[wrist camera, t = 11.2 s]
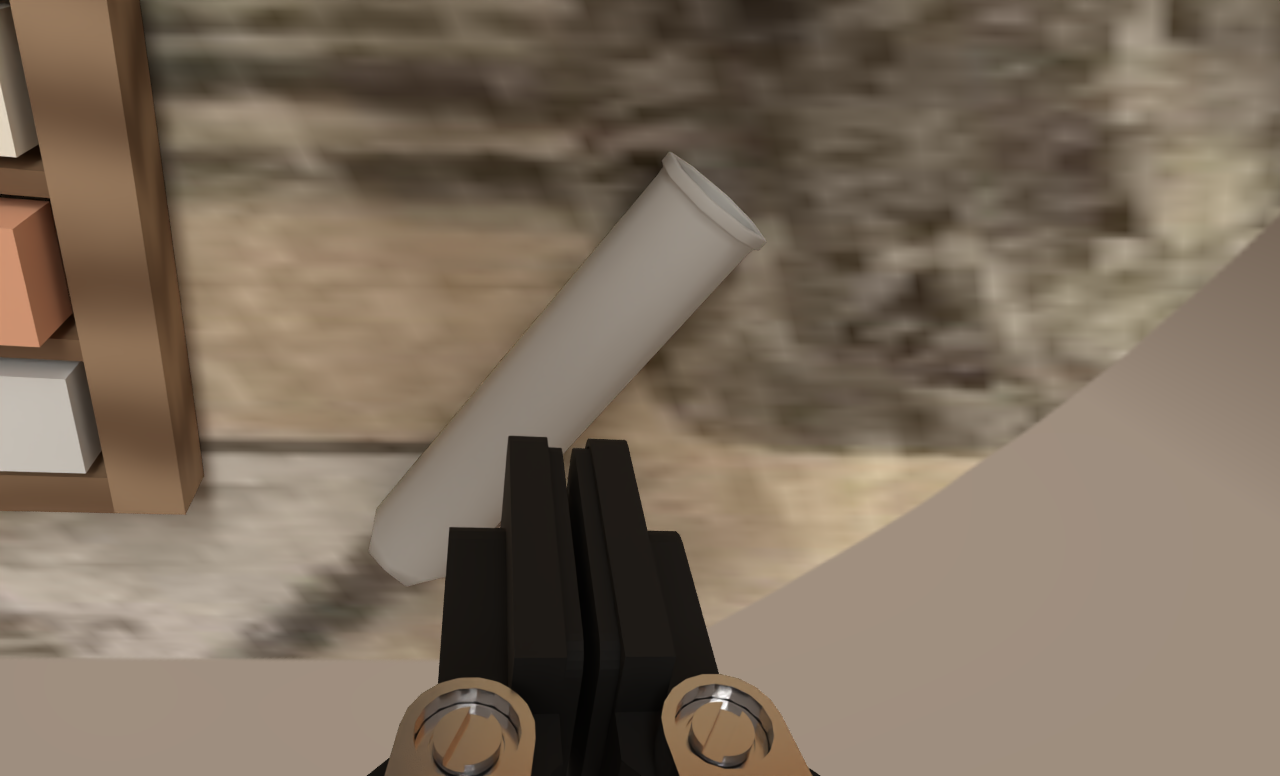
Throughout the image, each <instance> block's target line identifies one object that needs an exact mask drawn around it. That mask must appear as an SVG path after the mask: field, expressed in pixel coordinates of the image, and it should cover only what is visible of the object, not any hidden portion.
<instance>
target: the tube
mask: <svg viewBox="0 0 1280 776" xmlns="http://www.w3.org/2000/svg"><path fill="white" fill-rule="evenodd" d="M662 163H663V168H662V169H661V170H660V172H659V173H658V175H657V176H656V177H655V178H654V179H653V181H652V182H651V183H650V184H649V185H648V187H647V188H646V189H645V190H644V191H643V193H642V194H641V195H640V196H639V197H638V198H637V200H636V201H635V202H634V203H633V204H632V206H631V207H630V208H629V209H628V210H627V212H626V213H625V214H624V215H623V216H622V217H621V219H620V220H619V221H618V222H617V223H616V225H615V226H614V227H613V228H612V229H611V231H610V232H609V233H608V234H607V235H606V236H605V238H604V239H603V240H602V241H601V242H600V244H599V245H598V246H597V247H596V248H595V250H594V251H593V252H592V253H591V254H590V255H589V257H588V258H587V259H586V260H585V261H584V263H583V264H582V265H581V266H580V267H579V269H578V270H577V271H576V272H575V273H574V274H573V276H572V277H571V278H570V279H569V280H568V282H567V283H566V284H565V285H564V286H563V288H562V289H561V290H560V291H559V292H558V294H557V295H556V296H555V297H554V298H553V299H552V301H551V302H550V303H549V304H548V305H547V307H546V308H545V309H544V310H543V311H542V313H541V314H540V315H539V316H538V317H537V318H536V320H535V321H534V322H533V323H532V324H531V326H530V327H529V328H528V329H527V330H526V332H525V333H524V334H523V335H522V336H521V337H520V339H519V340H518V341H517V342H516V343H515V345H514V346H513V347H512V348H511V349H510V351H509V352H508V353H507V354H506V355H505V356H504V358H503V359H502V360H501V361H500V362H499V364H498V365H497V366H496V367H495V368H494V370H493V371H492V372H491V373H490V374H489V375H488V377H487V378H486V379H485V380H484V381H483V383H482V384H481V385H480V386H479V387H478V389H477V390H476V391H475V392H474V393H473V394H472V396H471V397H470V398H469V399H468V400H467V402H466V403H465V404H464V405H463V406H462V408H461V409H460V410H459V411H458V412H457V413H456V415H455V416H454V417H453V418H452V419H451V421H450V422H449V423H448V424H447V425H446V427H445V428H444V429H443V430H442V431H441V432H440V434H439V435H438V436H437V437H436V438H435V440H434V441H433V442H432V443H431V444H430V446H429V447H428V448H427V449H426V450H425V451H424V453H423V454H422V455H421V456H420V457H419V459H418V460H417V461H416V462H415V463H414V465H413V466H412V467H411V468H410V469H409V470H408V472H407V473H406V474H405V475H404V476H403V478H402V479H401V480H400V481H399V482H398V484H397V485H396V486H395V487H394V488H393V490H392V491H391V492H390V493H389V494H388V495H387V497H386V498H385V499H384V500H383V501H382V503H381V504H380V505H379V506H378V507H377V509H376V515H375V520H374V525H373V531H372V536H371V541H370V547H369V553H370V554H371V555H372V556H373V558H374V559H375V560H376V561H377V562H378V563H379V564H380V566H381V567H382V568H383V569H384V570H385V571H386V572H388V573H389V574H390V575H392V576H393V577H394V578H396V579H397V580H398V581H400V582H401V583H402V584H404V585H405V586H410V585H414V584H419V583H423V582H427V581H431V580H436V579H440V578H444V577H446V565H447V552H448V538H449V527H474V528H495V527H496V526H497V525H498V524H499V523H500V522H501V516H502V504H503V491H504V479H505V467H506V455H507V443H508V436H534V437H547V439H548V447H556V448H562V452H563V454H564V452H565V451H566V450H567V449H568V448H569V447H570V446H571V445H572V444H573V443H574V442H575V441H576V439H577V438H578V437H579V436H580V435H581V434H582V433H583V432H584V431H585V430H586V429H587V428H588V426H589V425H590V424H591V423H592V422H593V421H594V420H595V419H596V418H597V417H598V416H599V415H600V413H601V412H602V411H603V410H604V409H605V408H606V407H607V406H608V405H609V404H610V403H611V402H612V400H613V399H614V398H615V397H616V396H617V395H618V394H619V393H620V392H621V391H622V390H623V389H624V387H625V386H626V385H627V384H628V383H629V382H630V381H631V380H632V379H633V378H634V377H635V376H636V374H637V373H638V372H639V371H640V370H641V369H642V368H643V367H644V366H645V365H646V364H647V363H648V361H649V360H650V359H651V358H652V357H653V356H654V355H655V354H656V353H657V352H658V351H659V349H660V348H661V347H662V346H663V345H664V344H665V343H666V342H667V341H668V340H669V339H670V338H671V336H672V335H673V334H674V333H675V332H676V331H677V330H678V329H679V328H680V327H681V326H682V325H683V323H684V322H685V321H686V320H687V319H688V318H689V317H690V316H691V315H692V314H693V313H694V312H695V310H696V309H697V308H698V307H699V306H700V305H701V304H702V303H703V302H704V301H705V300H706V299H707V297H708V296H709V295H710V294H711V293H712V292H713V291H714V290H715V289H716V288H717V287H718V286H719V284H720V283H721V282H722V281H723V280H724V279H725V278H726V277H727V276H728V275H729V274H730V273H731V271H732V270H733V269H734V268H735V267H736V266H737V265H738V264H739V263H740V262H741V261H742V260H743V258H744V257H745V256H746V255H747V254H749V253H750V252H751V251H752V250H758V251H759V250H760V249H761V248H762V247H763V246H764V244H765V243H766V239H765V238H764V237H763V235H762V234H761V232H760V231H759V229H758V228H757V226H756V225H755V224H754V222H753V221H752V220H751V219H750V218H749V217H748V216H747V215H746V214H745V213H744V212H743V211H742V210H741V209H740V208H739V207H738V206H737V205H736V204H735V203H734V202H733V201H732V200H731V199H730V198H729V197H728V196H727V195H726V194H725V193H724V192H722V191H721V190H720V189H719V188H718V187H716V186H715V185H714V184H713V183H712V182H710V181H709V180H708V179H707V178H706V177H705V176H703V175H702V174H701V173H700V172H699V171H697V170H696V169H695V168H694V167H693V166H691V165H690V164H689V163H687V162H686V161H684V160H683V159H681V158H679V157H678V156H676V155H675V154H673V153H672V152H668V154H667V155H666V156H665V157H664V159H663V160H662Z"/></svg>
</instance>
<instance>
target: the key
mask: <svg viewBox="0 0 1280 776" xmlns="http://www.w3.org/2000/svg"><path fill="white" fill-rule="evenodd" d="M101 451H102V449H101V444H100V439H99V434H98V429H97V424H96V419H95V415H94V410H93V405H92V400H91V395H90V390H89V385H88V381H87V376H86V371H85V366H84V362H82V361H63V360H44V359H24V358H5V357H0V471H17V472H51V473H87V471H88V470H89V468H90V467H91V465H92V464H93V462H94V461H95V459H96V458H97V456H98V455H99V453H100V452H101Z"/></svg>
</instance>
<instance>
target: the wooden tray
mask: <svg viewBox="0 0 1280 776" xmlns="http://www.w3.org/2000/svg"><path fill="white" fill-rule="evenodd" d="M9 1H10V6H11V11H12V16H13V20H14V25H15V30H16V35H17V40H18V45H19V50H20V55H21V59H22V64H23V69H24V74H25V79H26V84H27V89H28V93H29V98H30V103H31V108H32V113H33V118H34V123H35V128H36V132H37V137H38V142H39V145H37V146H35V147H33V148H32V149H30V150H28V151H27V152H25V153H23V154H22V155H20V156H18V157H17V158H16V157H6V156H0V194H8V195H20V196H32V197H43V198H50V200H51V205H52V210H53V215H54V220H55V225H56V230H57V235H58V239H59V244H60V249H61V254H62V259H63V264H64V269H65V273H66V278H67V283H68V288H69V293H70V298H71V303H72V306H71V308H72V314H71V315H70V316H69V317H68V318H67V319H66V320H65V321H64V322H63V324H62V325H61V326H60V327H59V328H58V329H57V330H56V331H55V332H54V333H53V334H52V335H51V336H50V337H49V338H48V339H47V340H46V341H45V342H44V343H43V344H42V346H41V347H25V346H7V345H0V357H5V358H24V359H44V360H63V361H82V362H84V366H85V371H86V376H87V381H88V385H89V390H90V395H91V400H92V405H93V410H94V415H95V419H96V424H97V429H98V434H99V439H100V444H101V449H102V451H101V452H100V453H99V455H98V456H97V458H96V459H95V461H94V462H93V464H92V465H91V467H90V468H89V470H88V471H87V473H51V472H17V471H0V511H41V512H89V513H137V514H186V512H187V510H188V508H189V506H190V504H191V502H192V500H193V498H194V496H195V493H196V491H197V489H198V487H199V485H200V483H201V481H202V479H203V477H204V472H203V465H202V458H201V450H200V443H199V435H198V428H197V421H196V413H195V406H194V398H193V391H192V384H191V376H190V369H189V362H188V354H187V347H186V339H185V332H184V325H183V317H182V310H181V303H180V295H179V288H178V280H177V273H176V266H175V258H174V251H173V244H172V236H171V229H170V221H169V214H168V207H167V199H166V192H165V184H164V177H163V170H162V162H161V155H160V148H159V140H158V133H157V125H156V118H155V111H154V103H153V96H152V89H151V81H150V74H149V66H148V59H147V52H146V44H145V37H144V29H143V22H142V15H141V7H140V0H9Z"/></svg>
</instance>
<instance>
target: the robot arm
mask: <svg viewBox="0 0 1280 776" xmlns="http://www.w3.org/2000/svg"><path fill="white" fill-rule="evenodd" d="M439 664H440V665H439V677H438V684H437V685H436V686H434V687H432V688H430V689H429V690H427V691H425V692H424V693H422V694H421V695H420V696H419V697H418V698H417V699H416V700H415V701H414V702H413V703H412V704H411V705H410V706H409V707H408V709H407V711H406V713H405V715H404V717H403V719H402V721H401V723H400V725H399V728H398V732H397V735H396V738H395V742H394V745H393V748H392V752H391V755H390V758H388V759H387V760H386V761H385V762H384V763H382V764H381V765H380V766H378V767H377V768H376V769H375V770H374V771H372V772H371V773H370V774H368V775H367V776H820V775H818V774H817V773H816V772H814V771H813V770H811V769H809V768H808V766H807V764H806V762H805V760H804V758H803V756H802V754H801V752H800V751H799V748H798V746H797V744H796V743H795V741H794V739H793V737H792V735H791V733H790V731H789V729H788V727H787V725H786V723H785V721H784V719H783V717H782V715H781V714H780V712H779V711H778V709H777V708H776V706H775V705H774V704H773V702H772V701H771V700H770V699H769V698H768V697H767V696H766V695H764V694H763V693H762V692H761V691H760V690H759V689H758V688H756V687H755V686H753V685H750V684H749V683H747V682H745V681H743V680H741V679H739V678H735V677H730V676H726V675H722V674H719V672H718V669H717V665H716V662H715V658H714V655H713V651H712V647H711V643H710V640H709V636H708V633H707V629H706V625H705V622H704V618H703V615H702V611H701V607H700V604H699V600H698V596H697V593H696V589H695V586H694V582H693V578H692V575H691V571H690V567H689V564H688V560H687V557H686V553H685V549H684V546H683V542H682V540H681V537H680V535H679V534H678V533H677V532H676V531H647V527H646V522H645V518H644V514H643V509H642V505H641V500H640V496H639V492H638V487H637V483H636V479H635V474H634V470H633V465H632V461H631V457H630V452H629V448H628V444H627V441H625V440H608V439H588V440H587V443H586V447H585V449H582V448H573V449H572V453H571V460H570V468H569V475H568V483H567V488H566V479H565V470H564V461H563V452H562V448H556V447H548V439H547V437H534V436H508V443H507V455H506V467H505V479H504V491H503V504H502V516H501V528H474V527H449V538H448V552H447V565H446V579H445V593H444V607H443V621H442V635H441V649H440V663H439Z"/></svg>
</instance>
